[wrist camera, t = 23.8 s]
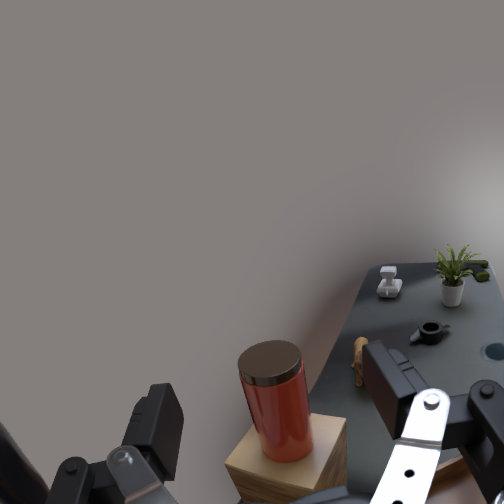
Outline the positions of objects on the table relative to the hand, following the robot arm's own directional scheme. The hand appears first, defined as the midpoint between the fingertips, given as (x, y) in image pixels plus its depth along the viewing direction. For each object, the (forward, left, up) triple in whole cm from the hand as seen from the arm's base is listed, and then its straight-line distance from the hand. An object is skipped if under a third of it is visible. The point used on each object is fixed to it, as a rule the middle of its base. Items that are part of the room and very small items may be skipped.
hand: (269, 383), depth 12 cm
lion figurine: (+28, +33, -36) cm, 56 cm away
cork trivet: (+3, +12, -20) cm, 24 cm away
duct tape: (+47, +32, -36) cm, 68 cm away
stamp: (+55, +56, -36) cm, 87 cm away
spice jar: (+3, +12, -19) cm, 23 cm away
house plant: (+65, +38, -36) cm, 84 cm away
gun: (+83, +48, -36) cm, 103 cm away
